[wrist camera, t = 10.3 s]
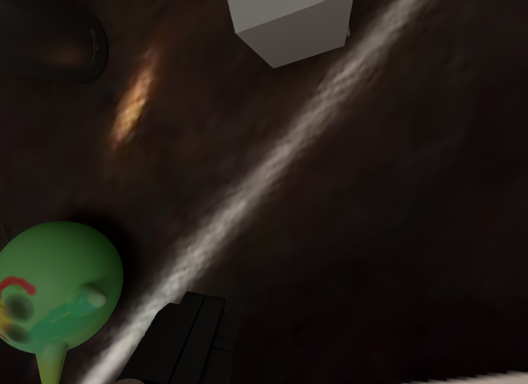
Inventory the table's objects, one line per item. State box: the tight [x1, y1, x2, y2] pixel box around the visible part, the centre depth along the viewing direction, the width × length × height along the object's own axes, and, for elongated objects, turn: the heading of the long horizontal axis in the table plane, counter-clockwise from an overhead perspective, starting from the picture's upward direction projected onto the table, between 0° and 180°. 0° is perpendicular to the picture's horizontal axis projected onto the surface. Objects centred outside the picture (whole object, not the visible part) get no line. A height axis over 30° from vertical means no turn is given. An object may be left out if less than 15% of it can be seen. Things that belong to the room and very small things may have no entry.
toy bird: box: [0, 221, 123, 384], centre depth 39 cm, size 18×17×15 cm
